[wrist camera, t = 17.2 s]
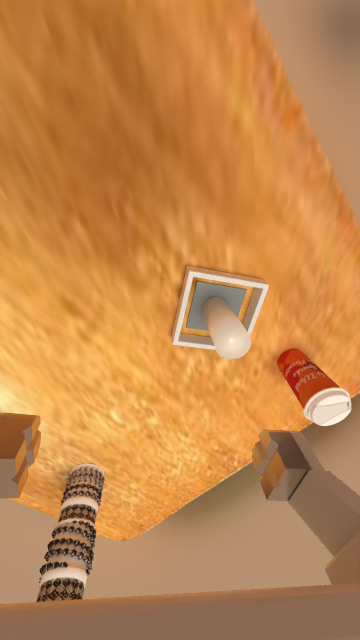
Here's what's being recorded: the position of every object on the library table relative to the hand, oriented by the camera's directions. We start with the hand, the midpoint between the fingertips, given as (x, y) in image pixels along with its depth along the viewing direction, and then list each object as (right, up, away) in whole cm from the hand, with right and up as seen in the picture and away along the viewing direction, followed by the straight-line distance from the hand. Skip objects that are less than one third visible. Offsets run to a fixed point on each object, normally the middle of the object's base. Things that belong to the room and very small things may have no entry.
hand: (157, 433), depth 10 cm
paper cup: (+24, -4, +45) cm, 51 cm away
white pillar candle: (+7, +6, +37) cm, 38 cm away
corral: (+7, +6, +37) cm, 39 cm away
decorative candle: (-22, -34, +55) cm, 68 cm away
